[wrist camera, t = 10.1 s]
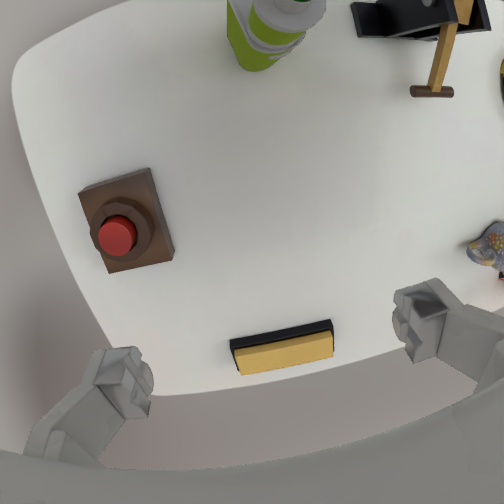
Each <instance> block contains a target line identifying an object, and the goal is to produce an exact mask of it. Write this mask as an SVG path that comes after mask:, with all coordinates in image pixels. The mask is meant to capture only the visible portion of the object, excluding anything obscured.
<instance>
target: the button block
mask: <svg viewBox="0 0 504 504" xmlns="http://www.w3.org/2000/svg"><path fill="white" fill-rule="evenodd" d="M78 196H79V199H80V202H81V205H82V207H83V210H84V213H85V216H86V218H87V221H88V224H89V226H90V235H91V238H92V241H93V243H94V245H95V248H96V249H97V250H98V251H99V252H100V254H101V256H102V259H103V261H104V263H105V266H106V268H107V270H108V273H109V274H110V273H115V272H120V271H124V270H129V269H134V268H138V267H143V266H148V265H152V264H157V263H162V262H166V261H171V260H172V259H173V256H174V252H175V250H174V247H173V244H172V241H171V238H170V235H169V232H168V229H167V225H166V222H165V219H164V216H163V213H162V209H161V206H160V203H159V199H158V196H157V193H156V189H155V186H154V183H153V179H152V176H151V172H150V169H149V168H146V169H143V170H139V171H136V172H133V173H129V174H126V175H123V176H119V177H116V178H113V179H110V180H107V181H104V182H100V183H97V184H94V185H91V186H89V187H86V188H84V189H83V190H81V191H80V192H79V193H78ZM115 216H121V217H125V218H127V219H128V220H129V221H131V222H132V224H133V225H134V227H135V230H136V239H135V242H134V243H133V245H132V247H131V248H130V250H129V251H128V252H127V253H126V254H124V255H121V256H114V255H110V254H108V253H107V252H106V251H104V250H103V248H102V247H101V245H100V243H99V239H98V235H99V231H100V229H101V227H102V226H103V225H104V224H105V223H106V222H107V220H108V219H110V218H112V217H115Z"/></svg>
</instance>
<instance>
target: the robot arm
mask: <svg viewBox="0 0 504 504" xmlns="http://www.w3.org/2000/svg"><path fill="white" fill-rule="evenodd" d="M394 303H395V304H396V306H397V307H396V308H395V310H394V311H393V316H392V322H393V328H394V331H395V333H396V335H397V337H398V339H399V340H400V341H402V342H405V343H406V345H405V351H406V352H407V354H408V356H409V357H410V359H411V361H412V362H413V363H414V364H415V363H417V362H421V361H423V360H426V359H429V358H432V357H435V356H436V357H437V358H439V359H440V360H442V361H444V362H445V363H447V364H448V365H450V366H452V367H454V368H455V369H457V370H458V371H460V372H462V373H463V374H465V375H467V376H468V377H470V378H472V379H473V380H475V381H477V382H478V385H477V387H476V388H475V391H474V393H473V395H471V396H469V397H467V398H465V399H463V400H461V401H459V402H457V403H455V404H452V405H450V406H448V407H446V408H444V409H442V410H439V411H437V412H435V413H433V414H430V415H428V416H425V417H423V418H421V419H418V420H416V421H413V422H411V423H408V424H405V425H403V426H400V427H397V428H395V429H392V430H389V431H386V432H383V433H380V434H377V435H375V436H372V437H368V438H365V439H362V440H358V441H355V442H351V443H348V444H344V445H341V446H337V447H334V448H330V449H325V450H321V451H317V452H313V453H308V454H303V455H299V456H294V457H289V458H284V459H278V460H272V461H266V462H260V463H253V464H245V465H236V466H227V467H217V468H204V469H183V470H136V469H117V468H106V467H105V466H104V465H103V464H101V463H100V462H99V461H98V460H97V459H98V458H99V456H100V455H101V454H102V452H103V451H104V450H105V448H106V447H107V446H108V444H109V442H110V441H111V440H112V438H113V437H114V436H115V435H116V433H117V432H118V431H119V429H120V428H121V427H122V425H123V424H124V422H125V420H128V419H143V418H148V415H149V409H150V404H151V401H150V400H149V399H148V396H149V395H150V394H151V393H152V391H153V386H154V381H153V374H152V371H151V369H150V367H149V365H148V364H147V363H145V362H143V361H142V360H141V357H142V354H141V352H140V351H139V349H138V347H135V346H130V347H120V348H110V349H102V350H96V351H94V352H93V353H92V356H91V358H90V361H89V363H88V366H87V368H86V371H85V374H84V376H83V378H82V381H81V384H80V386H75V387H74V388H73V389H72V390H71V391H70V392H69V393H68V394H67V395H66V396H65V397H64V398H63V399H61V400H60V401H59V402H58V403H57V404H56V405H55V406H54V407H53V408H52V409H51V410H50V411H48V412H47V413H46V414H45V415H44V416H43V417H42V418H41V419H40V420H39V421H38V422H37V423H36V424H35V425H33V427H32V430H31V432H30V435H29V438H28V440H27V443H26V446H25V449H24V452H23V454H18V453H13V452H9V451H6V450H2V449H0V504H504V317H502V316H499V315H497V314H494V313H491V312H488V311H486V310H483V309H480V308H477V307H474V306H472V305H469V304H466V305H463V304H462V303H461V301H460V300H459V299H458V298H457V297H456V296H455V295H454V294H453V293H452V292H451V291H450V290H449V289H448V288H447V287H446V285H445V284H444V283H443V282H442V281H441V280H440V279H438V278H433V279H430V280H427V281H424V282H422V283H419V284H416V285H412V286H409V287H406V288H402V289H399V290H396V291H395V294H394Z"/></svg>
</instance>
